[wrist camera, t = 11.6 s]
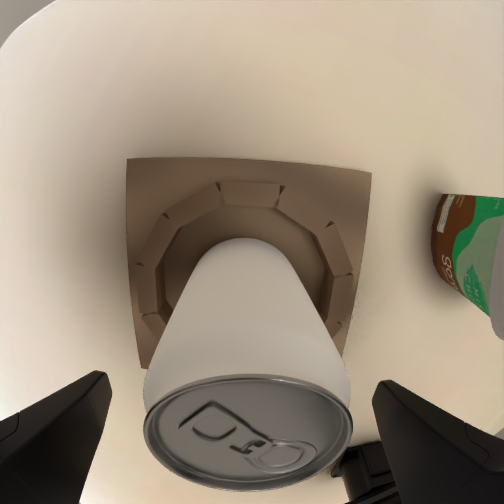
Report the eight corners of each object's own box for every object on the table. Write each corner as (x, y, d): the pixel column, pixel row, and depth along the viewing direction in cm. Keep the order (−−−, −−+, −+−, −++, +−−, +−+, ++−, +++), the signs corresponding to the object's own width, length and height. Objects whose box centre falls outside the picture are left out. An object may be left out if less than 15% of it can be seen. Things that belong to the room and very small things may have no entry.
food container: (389, 247, 18) (487, 304, 9) (432, 180, 17) (539, 196, 8) (462, 320, 21) (528, 375, 11) (495, 267, 19) (567, 306, 10)
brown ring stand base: (333, 368, 21) (343, 391, 18) (144, 360, 20) (133, 384, 17) (365, 172, 17) (386, 173, 14) (133, 159, 16) (113, 157, 13)
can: (247, 348, 19) (255, 508, 7) (172, 289, 18) (93, 437, 6) (316, 282, 18) (406, 423, 6) (239, 212, 16) (235, 298, 5)
